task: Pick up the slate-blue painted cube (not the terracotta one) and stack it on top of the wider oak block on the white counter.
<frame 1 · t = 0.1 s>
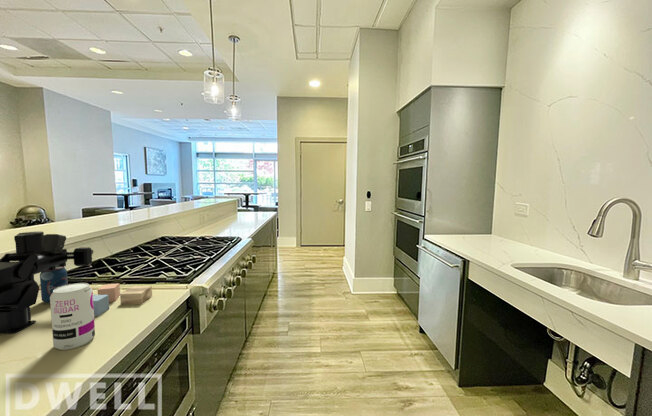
hand: (79, 251, 104), 17 cm above the counter, tool horizontal, fingers open, 9 cm apart
supplement can: (75, 342, 74), on the counter
terracotta cube: (109, 299, 101), on the counter
soda can: (55, 300, 100), on the counter
slate cube: (96, 312, 91), on the counter
oak block: (137, 300, 101), on the counter
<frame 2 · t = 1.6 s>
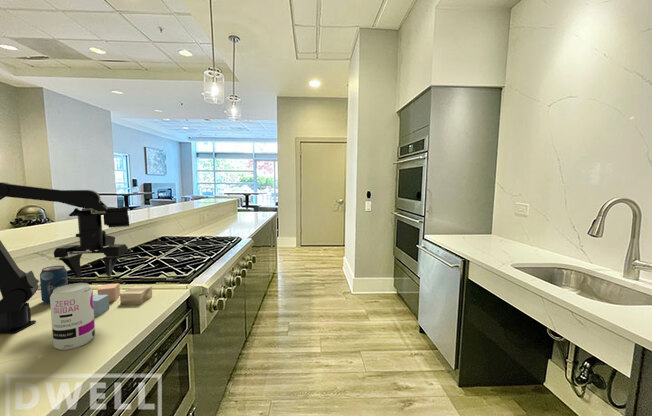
hand: (94, 276, 90), 12 cm above the counter, tool pointing down, fingers open, 9 cm apart
nothing on the counter moved.
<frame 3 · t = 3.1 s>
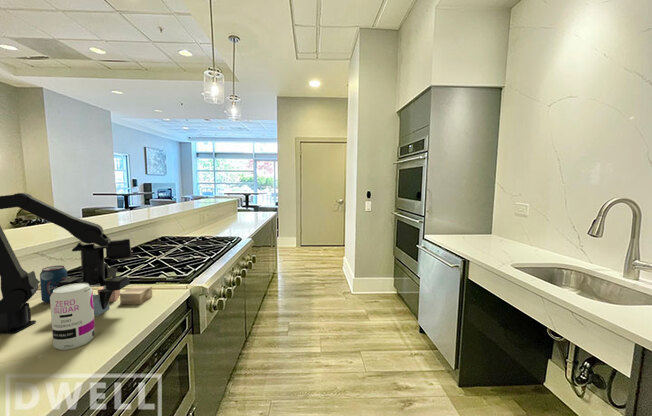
hand: (95, 309, 91), 1 cm above the counter, tool pointing down, fingers closed on slate cube, 5 cm apart
slate cube: (95, 312, 91), on the counter, touching gripper
everything else where it was.
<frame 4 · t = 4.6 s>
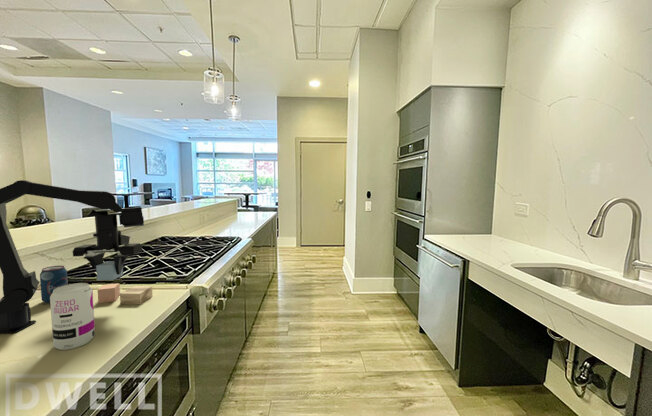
hand: (110, 274, 94), 12 cm above the counter, tool pointing down, fingers closed on slate cube, 5 cm apart
slate cube: (110, 277, 94), point 10 cm above the counter, touching gripper
everything else where it was.
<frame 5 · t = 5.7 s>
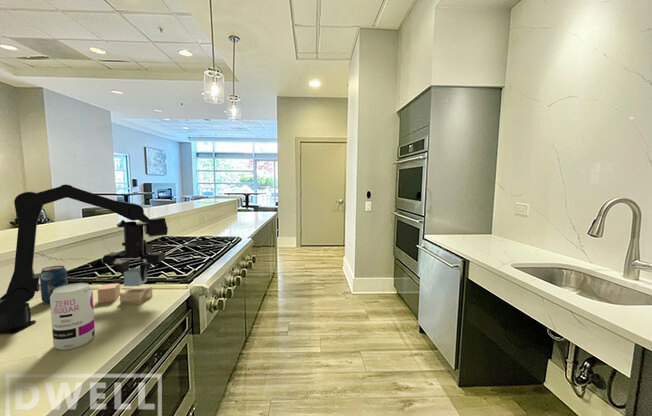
hand: (135, 280, 100), 7 cm above the counter, tool pointing down, fingers closed on slate cube, 5 cm apart
slate cube: (135, 283, 101), point 6 cm above the counter, touching gripper
everything else where it was.
when the fingers open (6 cm above the counter, at t = 6.2 s): slate cube drops 2 cm, resting on oak block.
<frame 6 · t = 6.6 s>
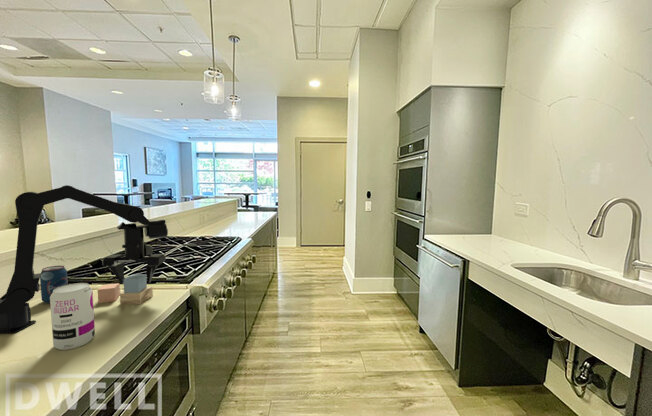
hand: (136, 282, 101), 6 cm above the counter, tool pointing down, fingers open, 9 cm apart
slate cube: (135, 290, 101), point 4 cm above the counter, touching oak block
oak block: (137, 300, 101), on the counter, touching slate cube
everything else where it was.
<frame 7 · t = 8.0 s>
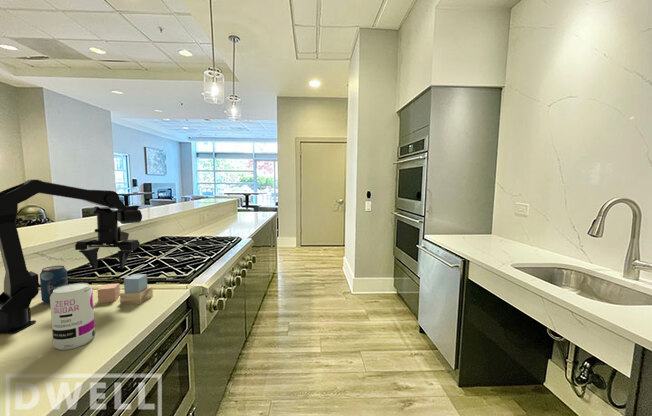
hand: (109, 268, 100), 12 cm above the counter, tool pointing down, fingers open, 9 cm apart
slate cube: (136, 290, 101), point 4 cm above the counter
oak block: (137, 300, 101), on the counter
everything else where it was.
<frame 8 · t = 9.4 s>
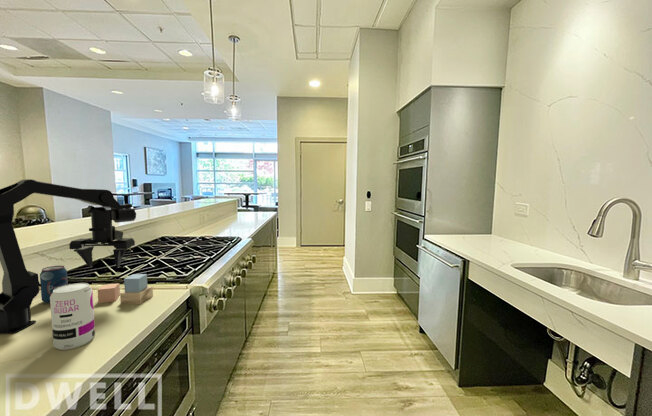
hand: (104, 266, 101), 12 cm above the counter, tool pointing down, fingers open, 9 cm apart
slate cube: (136, 289, 101), point 4 cm above the counter, touching oak block
oak block: (137, 300, 101), on the counter, touching slate cube
everything else where it was.
at the end: slate cube 0.2 cm off-centre on the oak block, point 4.0 cm above the oak block's base; slate cube touching oak block; the gripper is holding nothing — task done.
